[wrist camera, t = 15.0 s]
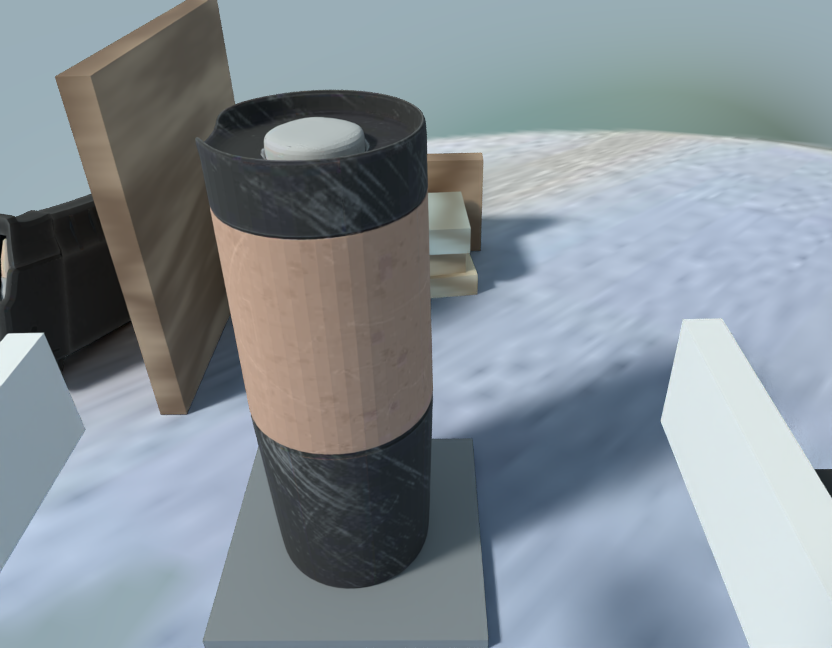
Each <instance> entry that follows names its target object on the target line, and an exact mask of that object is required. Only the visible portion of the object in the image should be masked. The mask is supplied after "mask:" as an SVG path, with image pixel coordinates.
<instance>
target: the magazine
mask: <svg viewBox="0 0 832 648" xmlns="http://www.w3.org/2000/svg"><path fill="white" fill-rule="evenodd" d="M129 321H131V318H130V315H129V312H128V308H127V305H126V302H125V299H124V296H123V292H122V289H121V286H120V283H119V280H118V277H117V273H116V270H115V267H114V264H113V261H112V257H111V254H110V251H109V248H108V245H107V241H106V238H105V235H104V232H103V229H102V225H101V222H100V219H99V216H98V213H97V210H96V206H95V203H94V200H93V197H92V194H89V195H87V196H84V197H81V198H78V199H75V200H72V201H69V202H66V203H63V204H60V205H56V206H53V207H50V208H46V209H43V210H39V211H35V210H31V211H28V212H26V213H24V214H22V215H19V216H17V217H15V216H12V215H5V214H0V342H1V341H2V340H3V339H4V337H5V336H6V335H7V334H12V333H44V335H45V337H46V339H47V342H48V344H49V346H50V349H51V351H52V353H53V356H54V358H55V360H56V362H57V365H58V367H59V369H60V372H61V371H62V370H63V364H64V357H66V356H67V355H69V354H71V353H73V352H75V351H77V350H79V349H81V348H83V347H85V346H87V345H88V344H90V343H92V342H94V341H96V340H97V339H99V338H101V337H103V336H104V335H106V334H108V333H110V332H111V331H113V330H115V329H117V328H118V327H120V326H122V325H124V324H125V323H127V322H129Z"/></svg>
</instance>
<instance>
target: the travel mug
mask: <svg viewBox="0 0 832 648" xmlns="http://www.w3.org/2000/svg"><path fill="white" fill-rule="evenodd" d="M195 141H196V146H197V150H198V153H199V157H200V161H201V165H202V170H203V175H204V181H205V186H206V191H207V196H208V201H209V205H210V211H211V216H212V221H213V226H214V231H215V236H216V241H217V246H218V252H219V257H220V262H221V267H222V272H223V277H224V282H225V287H226V292H227V297H228V302H229V307H230V313H231V318H232V323H233V328H234V333H235V338H236V343H237V348H238V353H239V358H240V363H241V368H242V374H243V379H244V384H245V389H246V394H247V399H248V404H249V409H250V412H251V417H252V421H253V425H254V429H255V433H256V437H257V441H258V445H259V449H260V453H261V457H262V461H263V465H264V469H265V473H266V477H267V481H268V485H269V488H270V492H271V496H272V500H273V504H274V508H275V512H276V516H277V520H278V524H279V527H280V531H281V535H282V538H283V542H284V545H285V548H286V551H287V553H288V555H289V557H290V559H291V560H292V562H293V563H294V564H295V566H296V567H297V568H298V569H299V570H300V571H301V572H302V573H303V574H305V575H306V576H308V577H309V578H311V579H313V580H315V581H316V582H319V583H321V584H324V585H327V586H331V587H336V588H346V589H349V588H363V587H369V586H373V585H377V584H379V583H382V582H385V581H387V580H389V579H391V578H393V577H395V576H396V575H398V574H399V573H401V572H402V571H403V570H405V569H406V568H407V567H408V566H409V565H410V564H411V563H412V562H413V561H414V560H415V559H416V557H417V556H418V554H419V553H420V551H421V549H422V547H423V545H424V543H425V540H426V537H427V533H428V525H429V510H430V479H431V443H432V407H433V374H432V333H431V292H430V252H429V211H428V169H427V132H426V121H425V118H424V115H423V113H422V112H421V110H420V109H419V108H417V107H416V106H414V105H413V104H411V103H409V102H407V101H405V100H402V99H399V98H397V97H393V96H389V95H384V94H379V93H373V92H365V91H354V90H312V91H299V92H290V93H282V94H276V95H270V96H265V97H260V98H255V99H251V100H248V101H244V102H241V103H238V104H235V105H232V106H230V107H228V108H226V109H225V110H223V111H222V112H221V113H220V114H219V115H218V117H217V119H216V124H215V127H214V130H213V131H212V133H211V134H210V136H209V137H208V138H207V139H206V140H205V141H203V140H201V139H200V138H198V137H196V139H195Z"/></svg>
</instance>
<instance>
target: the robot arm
mask: <svg viewBox="0 0 832 648" xmlns="http://www.w3.org/2000/svg"><path fill="white" fill-rule="evenodd" d="M661 423H662V426H663V428H664V431H665V433H666V436H667V438H668V441H669V444H670V446H671V449H672V451H673V454H674V456H675V459H676V461H677V464H678V466H679V469H680V471H681V474H682V476H683V479H684V482H685V484H686V487H687V489H688V492H689V494H690V497H691V499H692V502H693V504H694V507H695V509H696V512H697V514H698V517H699V520H700V522H701V525H702V527H703V530H704V532H705V535H706V537H707V540H708V542H709V545H710V547H711V550H712V552H713V555H714V558H715V560H716V563H717V565H718V568H719V570H720V573H721V575H722V578H723V580H724V583H725V585H726V588H727V590H728V593H729V596H730V598H731V601H732V603H733V606H734V608H735V611H736V613H737V616H738V618H739V621H740V623H741V626H742V629H743V631H744V634H745V636H746V639H747V641H748V644H749V646H750V648H832V469H814V468H813V467H812V465H811V464H810V462H809V460H808V459H807V457H806V455H805V454H804V452H803V450H802V449H801V447H800V446H799V444H798V442H797V441H796V439H795V437H794V436H793V434H792V432H791V431H790V429H789V428H788V426H787V424H786V423H785V421H784V419H783V418H782V416H781V414H780V413H779V411H778V409H777V408H776V406H775V405H774V403H773V401H772V400H771V398H770V396H769V395H768V393H767V391H766V390H765V388H764V387H763V385H762V383H761V382H760V380H759V378H758V377H757V375H756V373H755V372H754V370H753V369H752V367H751V365H750V364H749V362H748V360H747V359H746V357H745V355H744V354H743V352H742V351H741V349H740V347H739V346H738V344H737V342H736V341H735V339H734V337H733V336H732V334H731V333H730V331H729V329H728V328H727V326H726V324H725V323H724V321H723V319H683V322H682V327H681V331H680V336H679V340H678V345H677V349H676V354H675V358H674V363H673V367H672V372H671V376H670V381H669V385H668V390H667V394H666V399H665V404H664V408H663V413H662V417H661ZM85 430H86V429H85V427H84V425H83V423H82V420H81V418H80V416H79V413H78V411H77V409H76V406H75V404H74V402H73V399H72V397H71V395H70V393H69V390H68V388H67V386H66V383H65V381H64V379H63V376H62V374H61V372H60V369H59V367H58V365H57V362H56V360H55V358H54V356H53V353H52V351H51V349H50V346H49V344H48V342H47V339H46V337H45V335H44V333H12V334H7V335H6V336H5V337H4V339H3V340H2V341H1V342H0V572H1V570H2V569H3V567H4V565H5V564H6V562H7V560H8V558H9V557H10V555H11V553H12V552H13V550H14V548H15V547H16V545H17V543H18V542H19V540H20V538H21V537H22V535H23V533H24V532H25V530H26V528H27V527H28V525H29V523H30V522H31V520H32V518H33V517H34V515H35V513H36V512H37V510H38V508H39V507H40V505H41V503H42V502H43V500H44V498H45V497H46V495H47V493H48V492H49V490H50V488H51V487H52V485H53V483H54V482H55V480H56V478H57V477H58V475H59V473H60V472H61V470H62V468H63V467H64V465H65V463H66V462H67V460H68V458H69V457H70V455H71V453H72V452H73V450H74V448H75V447H76V445H77V443H78V442H79V440H80V438H81V436H82V435H83V433H84V431H85Z"/></svg>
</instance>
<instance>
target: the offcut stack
mask: <svg viewBox="0 0 832 648" xmlns="http://www.w3.org/2000/svg"><path fill="white" fill-rule="evenodd" d="M428 211H429V252H430V292H431V298H442V297H454V296H465V295H477V286H478V274H477V272H476V269H475V266H474V264H473V261H472V259H471V256H470V254H469V253H470V238H471V228H470V224H469V220H468V216H467V212H466V208H465V205H464V201H463V197H462V193H461V192H439V193H428Z"/></svg>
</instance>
